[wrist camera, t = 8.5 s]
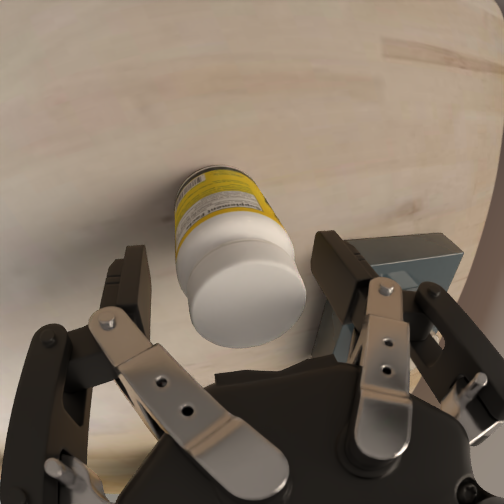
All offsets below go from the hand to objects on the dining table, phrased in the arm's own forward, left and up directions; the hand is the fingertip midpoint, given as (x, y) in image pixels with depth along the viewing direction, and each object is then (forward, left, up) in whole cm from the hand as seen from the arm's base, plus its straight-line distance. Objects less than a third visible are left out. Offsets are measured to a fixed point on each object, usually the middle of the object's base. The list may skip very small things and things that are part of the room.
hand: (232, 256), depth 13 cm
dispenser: (+9, +13, -5) cm, 17 cm away
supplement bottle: (0, 0, -5) cm, 5 cm away
